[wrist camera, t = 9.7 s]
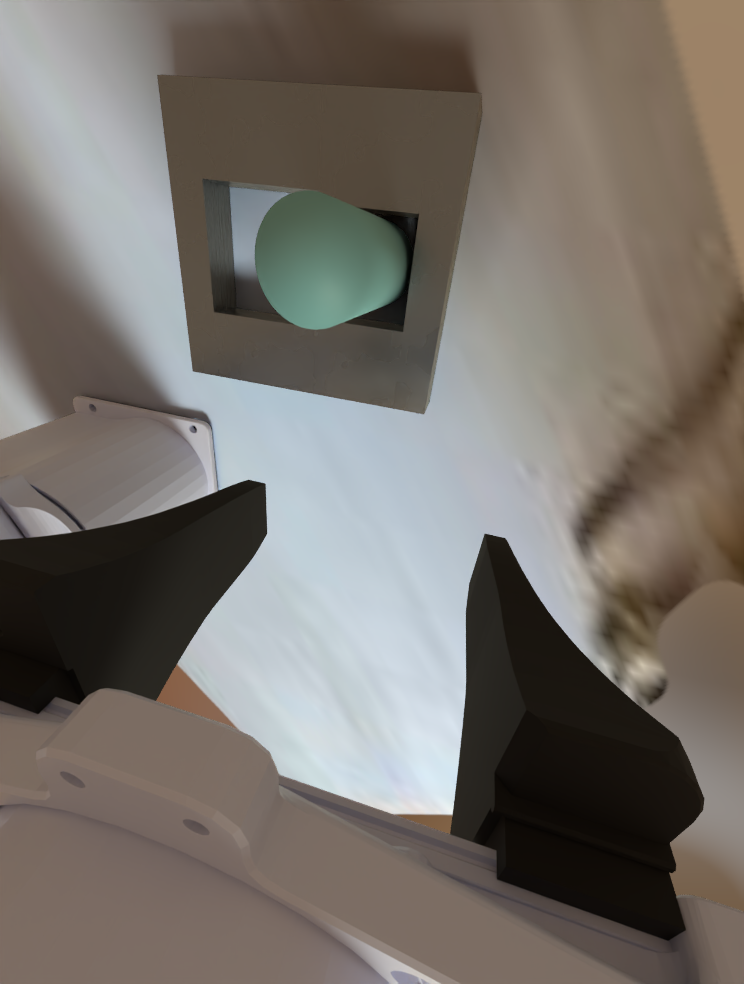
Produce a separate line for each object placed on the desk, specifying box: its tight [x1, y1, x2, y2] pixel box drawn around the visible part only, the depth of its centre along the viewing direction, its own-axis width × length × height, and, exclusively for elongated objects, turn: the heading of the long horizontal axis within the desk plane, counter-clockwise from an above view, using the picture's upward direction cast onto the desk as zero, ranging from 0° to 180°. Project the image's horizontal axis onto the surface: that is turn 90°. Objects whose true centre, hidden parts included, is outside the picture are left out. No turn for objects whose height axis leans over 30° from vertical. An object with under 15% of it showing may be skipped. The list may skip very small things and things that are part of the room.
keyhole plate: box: [157, 75, 482, 414], centre depth 18 cm, size 12×11×2 cm
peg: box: [255, 191, 414, 330], centre depth 15 cm, size 3×3×8 cm
